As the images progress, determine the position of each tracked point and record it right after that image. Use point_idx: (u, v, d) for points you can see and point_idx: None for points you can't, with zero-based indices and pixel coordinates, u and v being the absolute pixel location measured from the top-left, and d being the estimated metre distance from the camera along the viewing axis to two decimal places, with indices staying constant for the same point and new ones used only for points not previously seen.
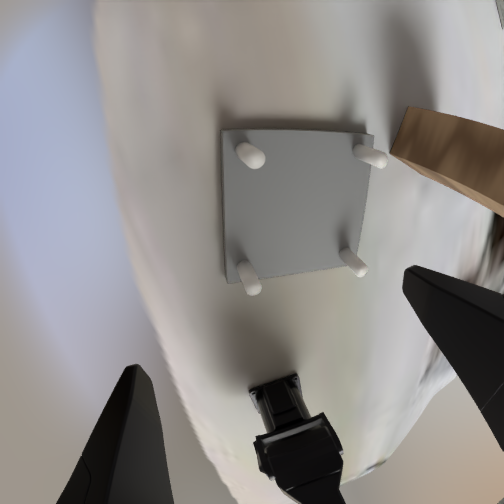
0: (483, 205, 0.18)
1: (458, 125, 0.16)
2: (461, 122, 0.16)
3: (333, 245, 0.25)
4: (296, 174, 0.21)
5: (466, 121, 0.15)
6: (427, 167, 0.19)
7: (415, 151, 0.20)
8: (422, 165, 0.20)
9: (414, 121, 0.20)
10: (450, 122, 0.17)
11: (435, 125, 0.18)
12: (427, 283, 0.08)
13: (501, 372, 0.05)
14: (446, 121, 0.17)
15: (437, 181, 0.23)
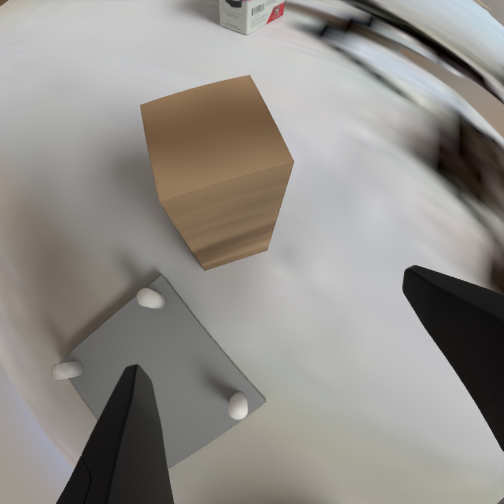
0: (277, 210, 0.15)
1: None
2: None
3: (215, 400, 0.19)
4: (122, 362, 0.20)
5: None
6: (195, 254, 0.18)
7: None
8: None
9: None
10: None
11: None
12: (427, 283, 0.08)
13: (501, 372, 0.05)
14: None
15: (266, 242, 0.20)
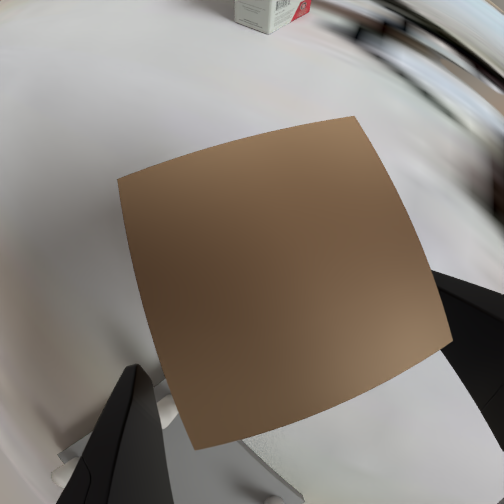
0: None
1: None
2: None
3: None
4: None
5: None
6: None
7: None
8: None
9: None
10: None
11: None
12: None
13: (501, 373, 0.05)
14: None
15: None
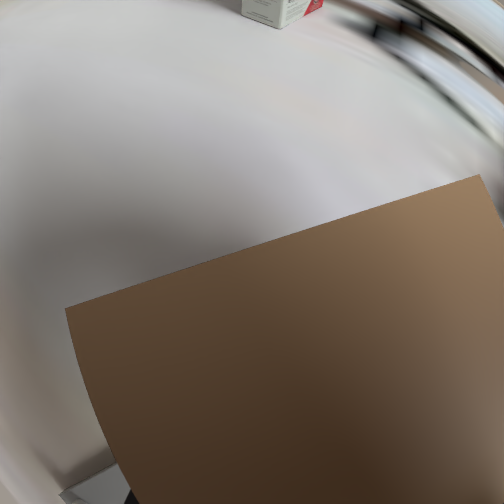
0: None
1: None
2: None
3: None
4: None
5: None
6: None
7: None
8: None
9: None
10: None
11: None
12: None
13: None
14: None
15: None
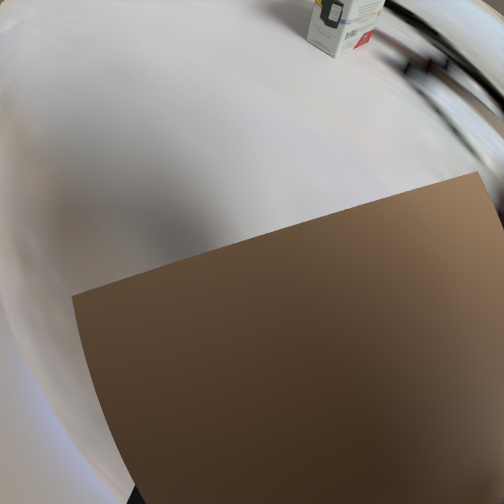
0: None
1: None
2: None
3: None
4: None
5: None
6: None
7: None
8: None
9: None
10: None
11: None
12: None
13: None
14: None
15: None
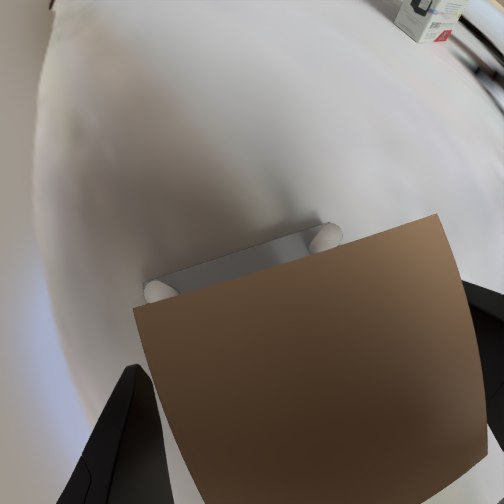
0: None
1: None
2: None
3: None
4: None
5: None
6: None
7: None
8: None
9: None
10: None
11: None
12: None
13: (501, 372, 0.05)
14: None
15: None
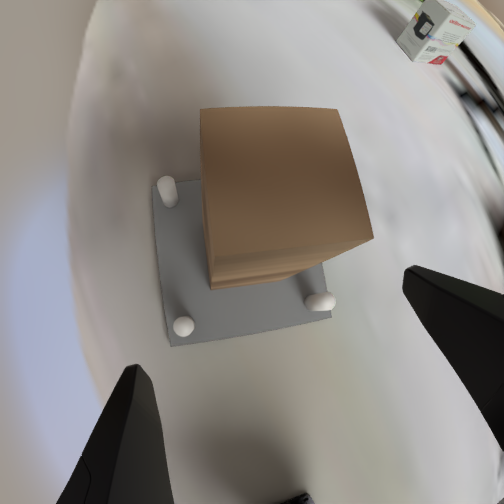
0: (319, 262, 0.13)
1: (202, 200, 0.15)
2: None
3: (292, 293, 0.21)
4: None
5: (201, 186, 0.15)
6: (211, 282, 0.16)
7: None
8: (211, 283, 0.17)
9: (204, 235, 0.20)
10: (202, 204, 0.16)
11: None
12: (427, 283, 0.08)
13: (501, 372, 0.05)
14: (202, 207, 0.17)
15: (284, 277, 0.19)
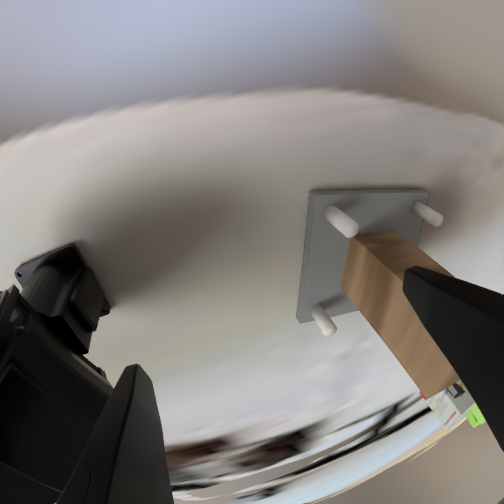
0: (391, 350, 0.18)
1: (437, 268, 0.18)
2: (441, 269, 0.18)
3: (327, 295, 0.25)
4: None
5: (447, 272, 0.18)
6: (386, 266, 0.19)
7: (380, 250, 0.21)
8: (381, 261, 0.19)
9: (394, 239, 0.22)
10: (430, 262, 0.19)
11: (414, 254, 0.20)
12: (427, 283, 0.08)
13: (501, 372, 0.05)
14: (427, 260, 0.20)
15: (354, 301, 0.23)
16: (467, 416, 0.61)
